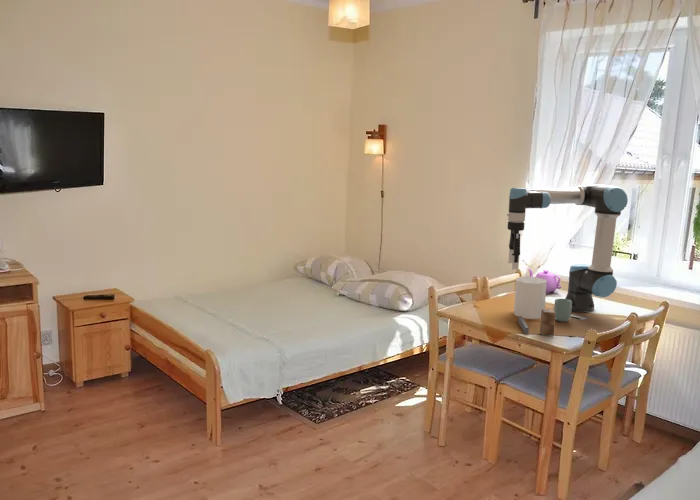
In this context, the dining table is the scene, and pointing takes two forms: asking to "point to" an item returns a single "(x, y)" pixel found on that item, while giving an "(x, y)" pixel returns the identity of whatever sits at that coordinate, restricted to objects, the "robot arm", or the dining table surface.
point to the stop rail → (523, 325)
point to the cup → (562, 309)
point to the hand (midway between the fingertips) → (513, 266)
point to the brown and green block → (547, 322)
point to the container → (530, 297)
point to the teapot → (548, 280)
